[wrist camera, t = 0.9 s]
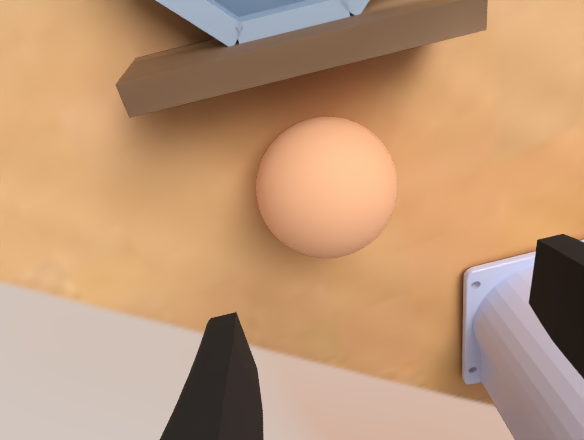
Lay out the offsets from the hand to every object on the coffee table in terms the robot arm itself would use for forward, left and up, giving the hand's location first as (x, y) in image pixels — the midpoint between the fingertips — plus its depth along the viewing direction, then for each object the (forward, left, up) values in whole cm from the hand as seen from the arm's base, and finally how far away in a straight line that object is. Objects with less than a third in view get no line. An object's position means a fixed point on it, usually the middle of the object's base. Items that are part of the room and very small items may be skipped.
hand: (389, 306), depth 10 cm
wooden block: (+5, 0, -9) cm, 11 cm away
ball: (0, 0, -9) cm, 9 cm away
